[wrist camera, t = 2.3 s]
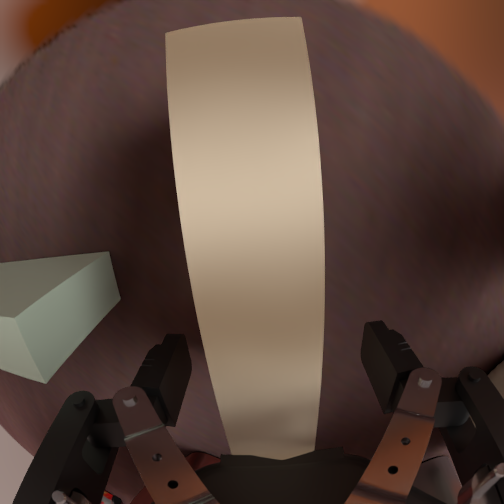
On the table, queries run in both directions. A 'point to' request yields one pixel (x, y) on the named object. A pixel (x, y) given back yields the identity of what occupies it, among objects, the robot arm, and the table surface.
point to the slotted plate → (252, 223)
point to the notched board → (51, 309)
